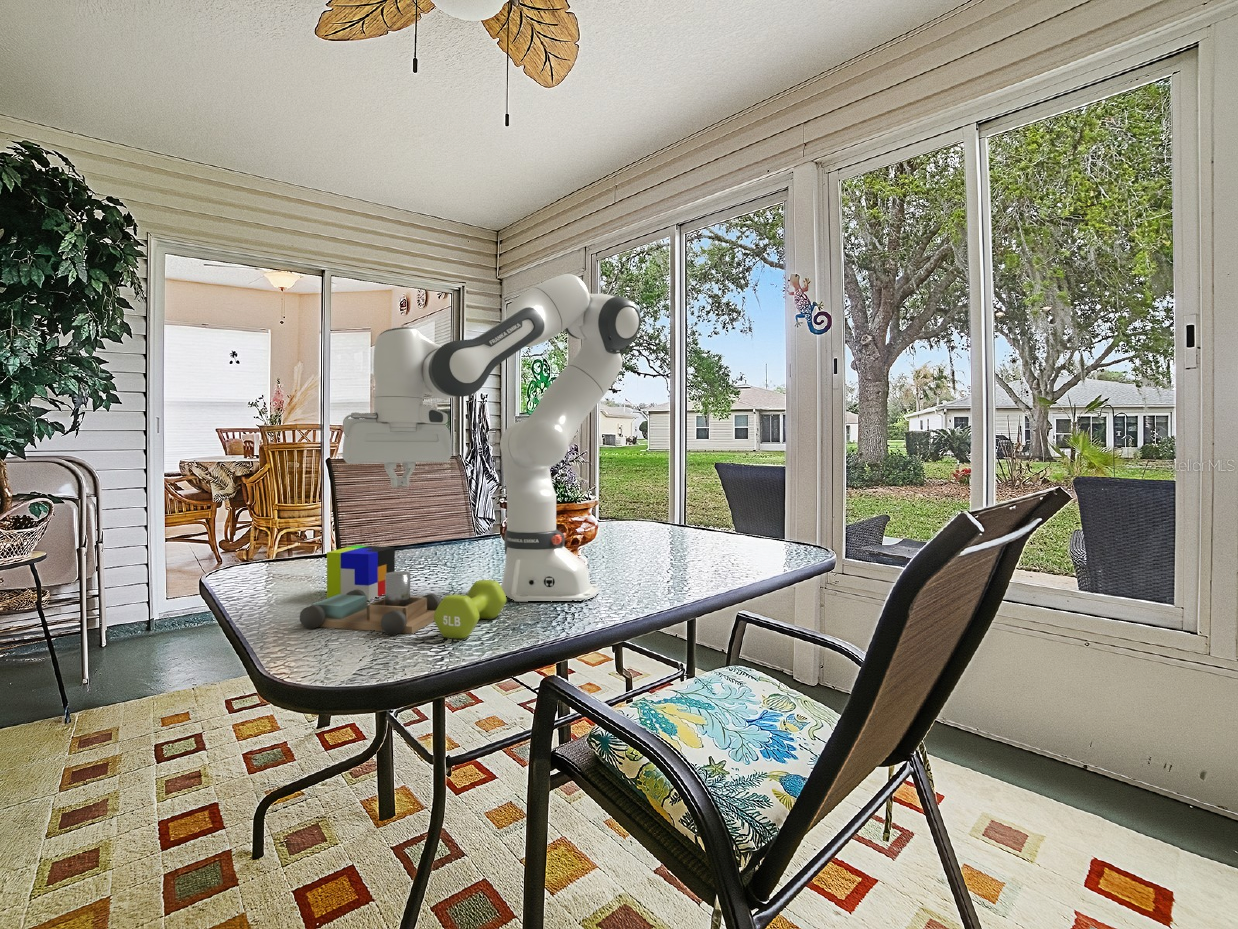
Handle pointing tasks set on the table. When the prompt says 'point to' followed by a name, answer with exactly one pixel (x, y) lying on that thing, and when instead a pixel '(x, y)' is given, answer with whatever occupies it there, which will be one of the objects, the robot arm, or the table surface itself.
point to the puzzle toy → (359, 570)
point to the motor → (397, 588)
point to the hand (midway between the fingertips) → (400, 487)
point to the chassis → (370, 613)
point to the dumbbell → (469, 609)
